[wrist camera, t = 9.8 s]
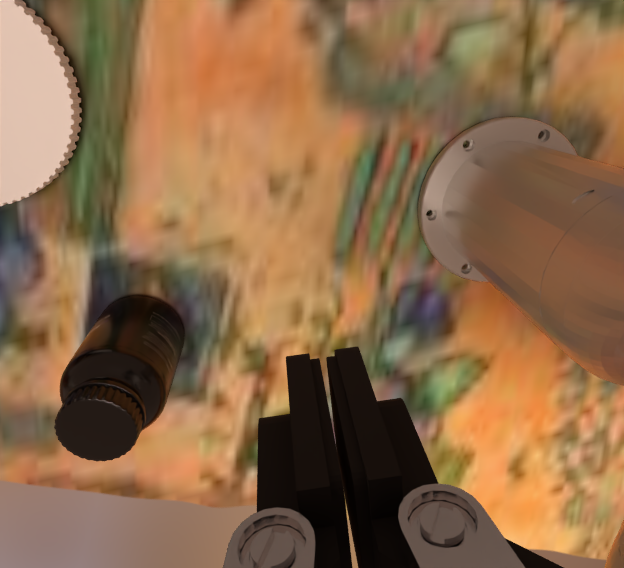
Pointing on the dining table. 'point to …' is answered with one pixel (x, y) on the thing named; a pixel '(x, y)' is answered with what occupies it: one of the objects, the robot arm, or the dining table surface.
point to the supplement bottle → (119, 378)
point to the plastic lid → (33, 104)
